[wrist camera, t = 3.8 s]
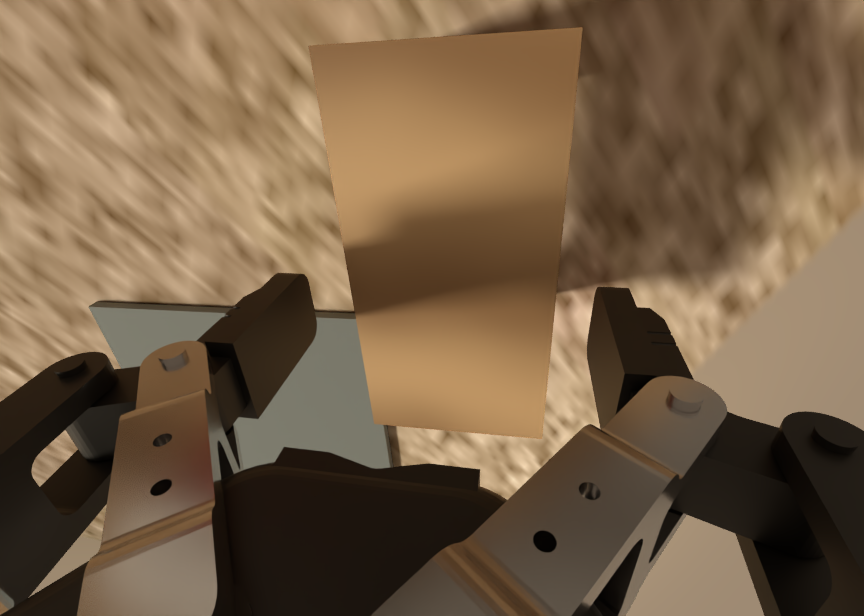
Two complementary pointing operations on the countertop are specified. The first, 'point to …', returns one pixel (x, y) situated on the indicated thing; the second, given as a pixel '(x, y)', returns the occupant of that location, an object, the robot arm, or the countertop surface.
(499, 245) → the tan wooden block
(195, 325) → the mat
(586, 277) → the countertop surface
